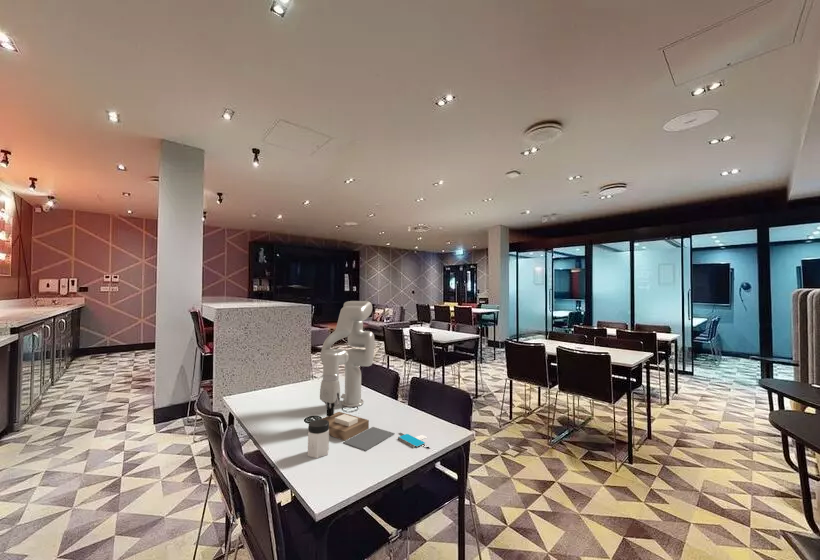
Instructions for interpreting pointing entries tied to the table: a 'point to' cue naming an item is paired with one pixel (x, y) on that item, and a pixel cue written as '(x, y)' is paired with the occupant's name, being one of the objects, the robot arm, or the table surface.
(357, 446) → the mat
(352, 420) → the cream flat block
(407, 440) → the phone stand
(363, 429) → the platform
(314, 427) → the jar
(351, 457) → the table surface
